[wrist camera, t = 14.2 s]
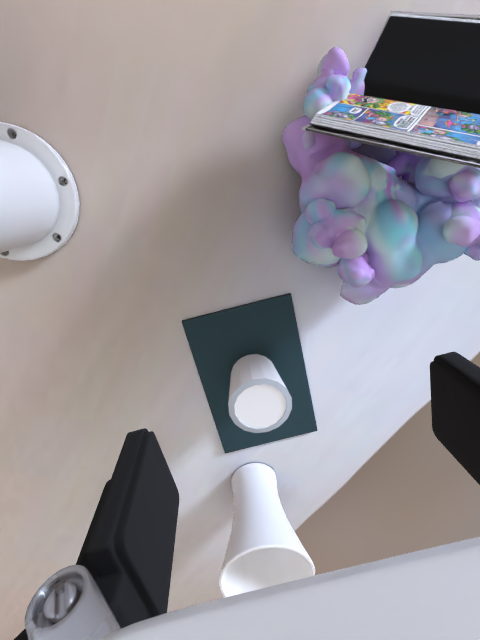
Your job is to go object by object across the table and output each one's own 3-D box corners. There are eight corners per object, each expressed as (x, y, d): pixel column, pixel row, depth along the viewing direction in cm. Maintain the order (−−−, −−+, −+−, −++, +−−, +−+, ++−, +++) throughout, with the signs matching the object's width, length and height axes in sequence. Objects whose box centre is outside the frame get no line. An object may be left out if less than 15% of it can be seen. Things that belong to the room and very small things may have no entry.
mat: (224, 451, 47) (225, 453, 46) (182, 320, 39) (181, 321, 39) (316, 428, 46) (317, 430, 46) (290, 293, 39) (290, 294, 39)
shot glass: (290, 363, 42) (305, 395, 36) (262, 405, 44) (271, 442, 37) (243, 340, 40) (249, 368, 34) (216, 384, 42) (216, 419, 36)
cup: (304, 470, 49) (335, 567, 36) (260, 516, 52) (276, 621, 39) (245, 439, 46) (257, 532, 34) (203, 489, 49) (199, 592, 36)
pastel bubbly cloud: (303, 328, 36) (503, 361, 21) (199, 120, 27) (407, -74, 13) (402, 233, 44) (600, 207, 29) (344, 48, 35) (580, -124, 20)
